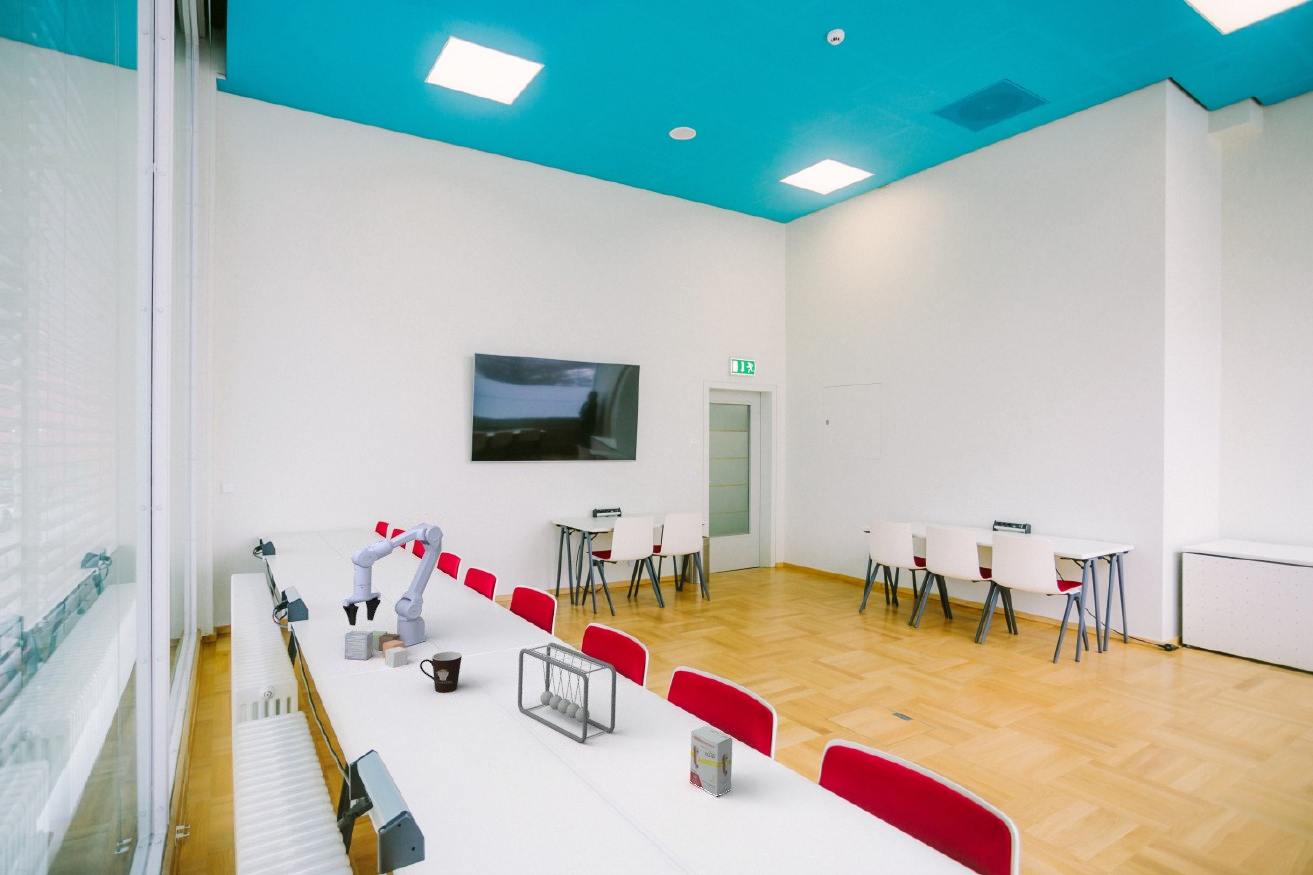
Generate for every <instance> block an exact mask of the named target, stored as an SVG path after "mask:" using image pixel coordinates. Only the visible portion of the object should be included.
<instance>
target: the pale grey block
mask: <svg viewBox="0 0 1313 875" xmlns="http://www.w3.org/2000/svg"><path fill="white" fill-rule="evenodd" d="M408 651H409V650H408V649H407V648H406V647H405V648H402V647H395V648H391V649H387V650H386V654H385V658H384V659H385V661H384V662H385V663H384V664H385V666H388V667H389V668H391V669H392V668H393V669H396V668H400V667H403V666H407V665H408V654H409V652H408Z"/></svg>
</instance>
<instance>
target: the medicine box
mask: <svg viewBox="0 0 1313 875" xmlns="http://www.w3.org/2000/svg"><path fill="white" fill-rule="evenodd" d="M373 653H374V649H373V631H365V630H350V631H348V632H347V633H345V634H344V660H359V661H367V660H369V659H370V658H372V657H373Z"/></svg>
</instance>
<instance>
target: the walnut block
mask: <svg viewBox="0 0 1313 875" xmlns="http://www.w3.org/2000/svg"><path fill="white" fill-rule="evenodd" d="M393 640H398V641H400V635H399V634H397V633H388V632H387V634H385V635H383V636H380V637H379V649H378V651H379V652H383V643H386V642H389V641H393Z"/></svg>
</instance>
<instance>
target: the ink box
mask: <svg viewBox="0 0 1313 875" xmlns="http://www.w3.org/2000/svg"><path fill="white" fill-rule="evenodd" d="M690 736H691V737H690V770H689V771H690V774H689V777H690V778H689V782H690V781H691V782H692V783H694V784H696V785H697V786H699V787H702V788H703V789H706V790H707V791H709V792H710V793H712V794H715V795H719V794H723V793H725V792H726V791H728V790H730V789H731V790H732V768H733V764H732V762H733V760H732V759H733V738H732V737H731V736H730V735H728V734H726V733H724V732H722V731H721V730H718V729H716V728H714V727H712V726H709V725H704V726H701V727H699V728H696V729H694V730H692V731H691V735H690ZM697 786H696V787H697ZM699 787H698V788H699ZM710 793H709V794H710ZM712 794H711V795H712ZM725 794H726V793H725ZM723 795H724V794H723Z"/></svg>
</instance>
